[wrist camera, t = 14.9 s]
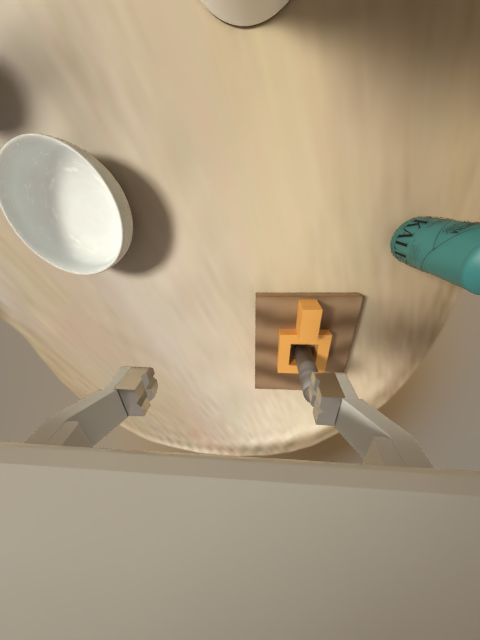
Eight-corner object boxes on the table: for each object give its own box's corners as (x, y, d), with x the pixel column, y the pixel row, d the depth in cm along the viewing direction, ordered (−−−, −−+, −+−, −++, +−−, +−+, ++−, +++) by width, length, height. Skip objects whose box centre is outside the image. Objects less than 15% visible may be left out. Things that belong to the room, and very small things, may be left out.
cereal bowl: (18, 187, 34) (-35, 185, 28) (89, 116, 30) (44, 95, 23) (98, 279, 41) (70, 293, 35) (166, 234, 36) (148, 241, 30)
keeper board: (255, 292, 40) (254, 336, 27) (358, 292, 38) (407, 339, 26) (255, 381, 51) (254, 443, 38) (335, 384, 49) (362, 449, 36)
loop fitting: (281, 299, 38) (283, 309, 35) (334, 299, 37) (342, 309, 34) (277, 366, 45) (278, 380, 42) (321, 367, 45) (327, 381, 41)
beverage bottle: (434, 244, 34) (620, 293, 16) (389, 267, 36) (511, 331, 19) (424, 204, 31) (629, 212, 14) (376, 231, 34) (503, 267, 16)
